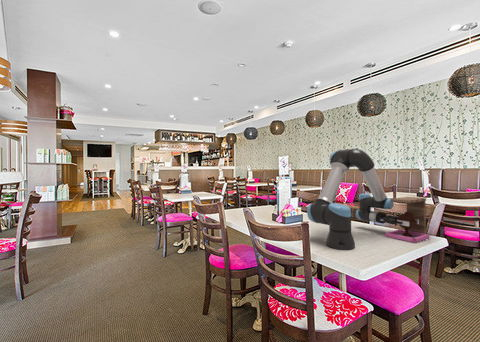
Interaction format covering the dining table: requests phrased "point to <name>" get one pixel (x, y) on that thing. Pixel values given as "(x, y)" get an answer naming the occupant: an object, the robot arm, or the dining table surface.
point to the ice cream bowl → (409, 218)
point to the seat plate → (414, 238)
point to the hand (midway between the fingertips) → (413, 223)
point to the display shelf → (415, 211)
